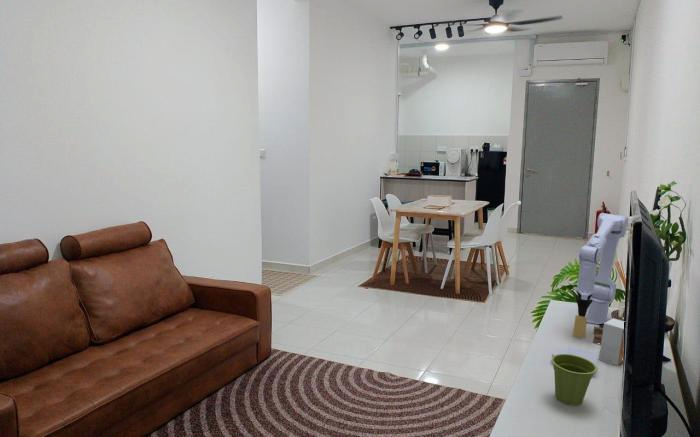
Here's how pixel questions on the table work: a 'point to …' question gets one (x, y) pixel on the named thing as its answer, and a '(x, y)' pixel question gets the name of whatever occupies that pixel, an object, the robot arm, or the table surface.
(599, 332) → the notched board
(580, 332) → the ochre block
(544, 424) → the table surface
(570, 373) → the plant pot
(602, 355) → the small box
